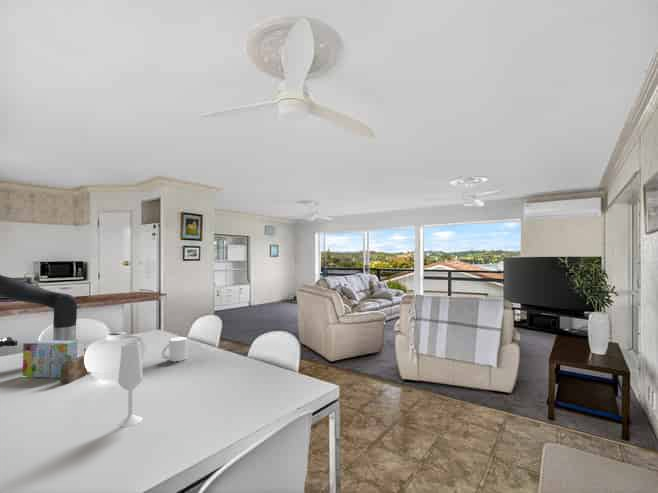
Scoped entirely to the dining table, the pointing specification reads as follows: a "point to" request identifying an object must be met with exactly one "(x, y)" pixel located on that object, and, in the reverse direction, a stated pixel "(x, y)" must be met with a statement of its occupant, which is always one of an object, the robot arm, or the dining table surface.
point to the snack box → (46, 357)
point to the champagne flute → (130, 378)
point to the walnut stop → (73, 369)
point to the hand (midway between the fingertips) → (15, 343)
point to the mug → (176, 349)
